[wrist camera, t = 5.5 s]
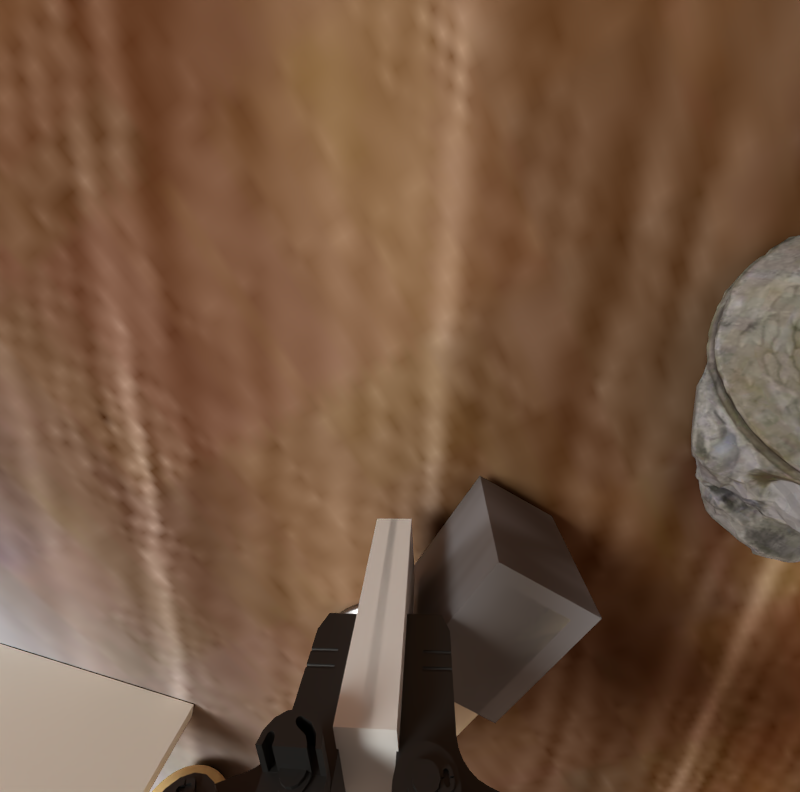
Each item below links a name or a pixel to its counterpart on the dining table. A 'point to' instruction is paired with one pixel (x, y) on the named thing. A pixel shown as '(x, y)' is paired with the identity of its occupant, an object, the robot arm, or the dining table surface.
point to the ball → (203, 769)
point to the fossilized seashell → (754, 407)
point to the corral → (80, 728)
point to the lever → (501, 598)
